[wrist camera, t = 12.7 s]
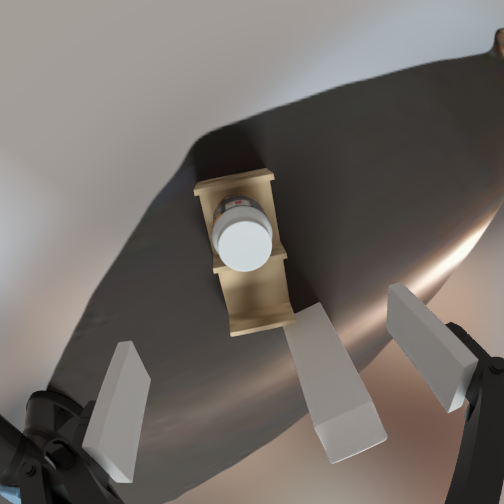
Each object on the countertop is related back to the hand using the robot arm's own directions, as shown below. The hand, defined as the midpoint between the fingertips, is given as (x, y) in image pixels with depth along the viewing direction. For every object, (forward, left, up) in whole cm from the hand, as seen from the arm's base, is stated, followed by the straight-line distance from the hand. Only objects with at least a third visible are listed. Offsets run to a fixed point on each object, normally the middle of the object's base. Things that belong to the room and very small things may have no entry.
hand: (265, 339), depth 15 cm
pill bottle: (0, 0, -23) cm, 23 cm away
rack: (0, -4, -24) cm, 24 cm away
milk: (+6, -18, -24) cm, 31 cm away
